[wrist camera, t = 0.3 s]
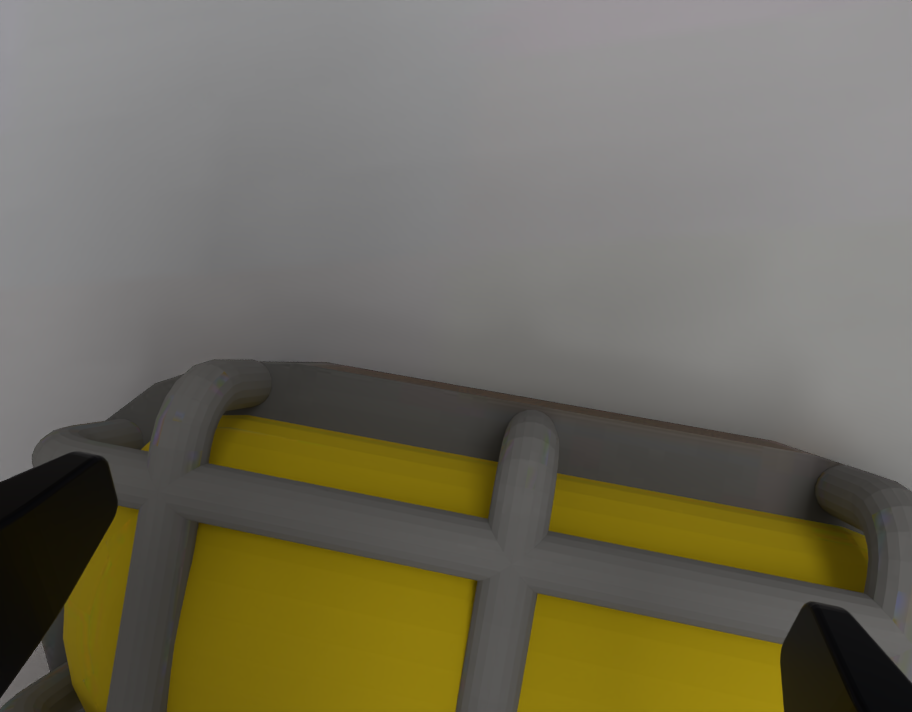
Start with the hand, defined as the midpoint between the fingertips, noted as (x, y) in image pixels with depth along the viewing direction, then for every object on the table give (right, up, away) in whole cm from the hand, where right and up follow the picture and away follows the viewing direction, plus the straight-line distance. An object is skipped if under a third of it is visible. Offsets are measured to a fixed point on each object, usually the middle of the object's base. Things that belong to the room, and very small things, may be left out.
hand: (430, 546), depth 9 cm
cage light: (+2, -6, +15) cm, 16 cm away
